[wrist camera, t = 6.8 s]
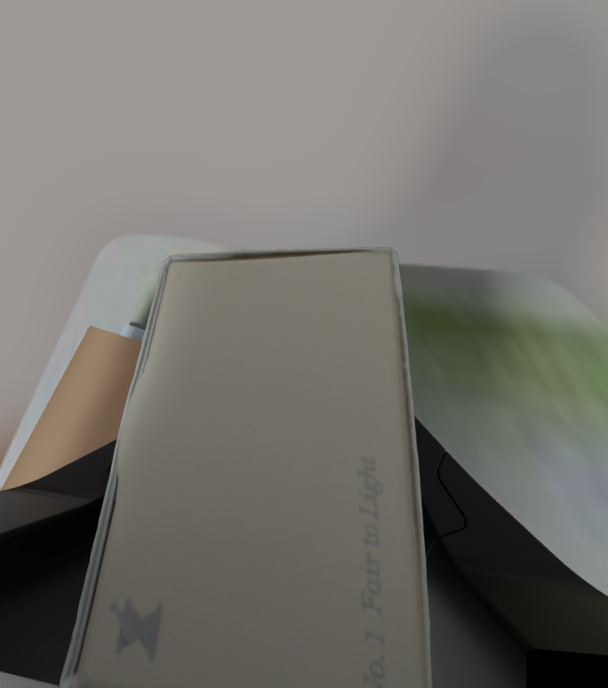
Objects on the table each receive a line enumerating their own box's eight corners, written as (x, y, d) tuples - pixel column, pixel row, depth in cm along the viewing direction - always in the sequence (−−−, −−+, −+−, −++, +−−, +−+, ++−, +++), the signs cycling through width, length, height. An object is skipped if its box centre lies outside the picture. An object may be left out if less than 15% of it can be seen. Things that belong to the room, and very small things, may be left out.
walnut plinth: (249, 376, 16) (231, 370, 13) (189, 543, 13) (150, 579, 11) (129, 339, 18) (90, 325, 15) (60, 479, 15) (-3, 495, 13)
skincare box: (353, 473, 14) (466, 852, 2) (279, 467, 14) (34, 732, 3) (352, 366, 15) (414, 236, 4) (286, 365, 16) (155, 247, 4)
